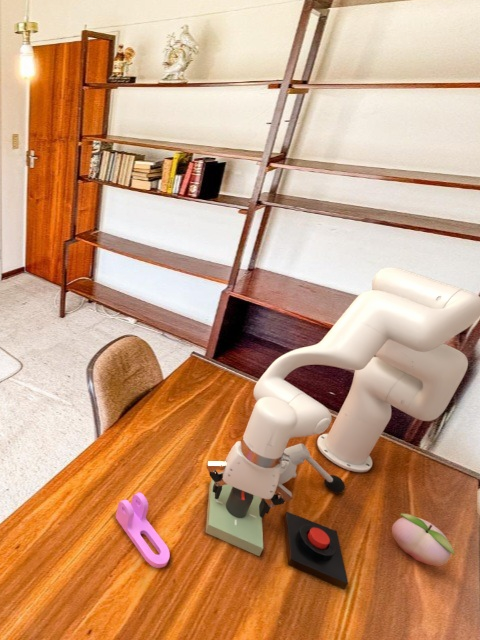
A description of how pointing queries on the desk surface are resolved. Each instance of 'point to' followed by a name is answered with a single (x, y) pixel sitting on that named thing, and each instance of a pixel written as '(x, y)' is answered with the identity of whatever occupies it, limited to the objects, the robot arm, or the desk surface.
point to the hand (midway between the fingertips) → (238, 503)
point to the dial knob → (238, 502)
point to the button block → (314, 551)
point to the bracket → (142, 530)
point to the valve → (301, 453)
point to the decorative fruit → (422, 540)
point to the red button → (318, 538)
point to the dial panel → (234, 522)
